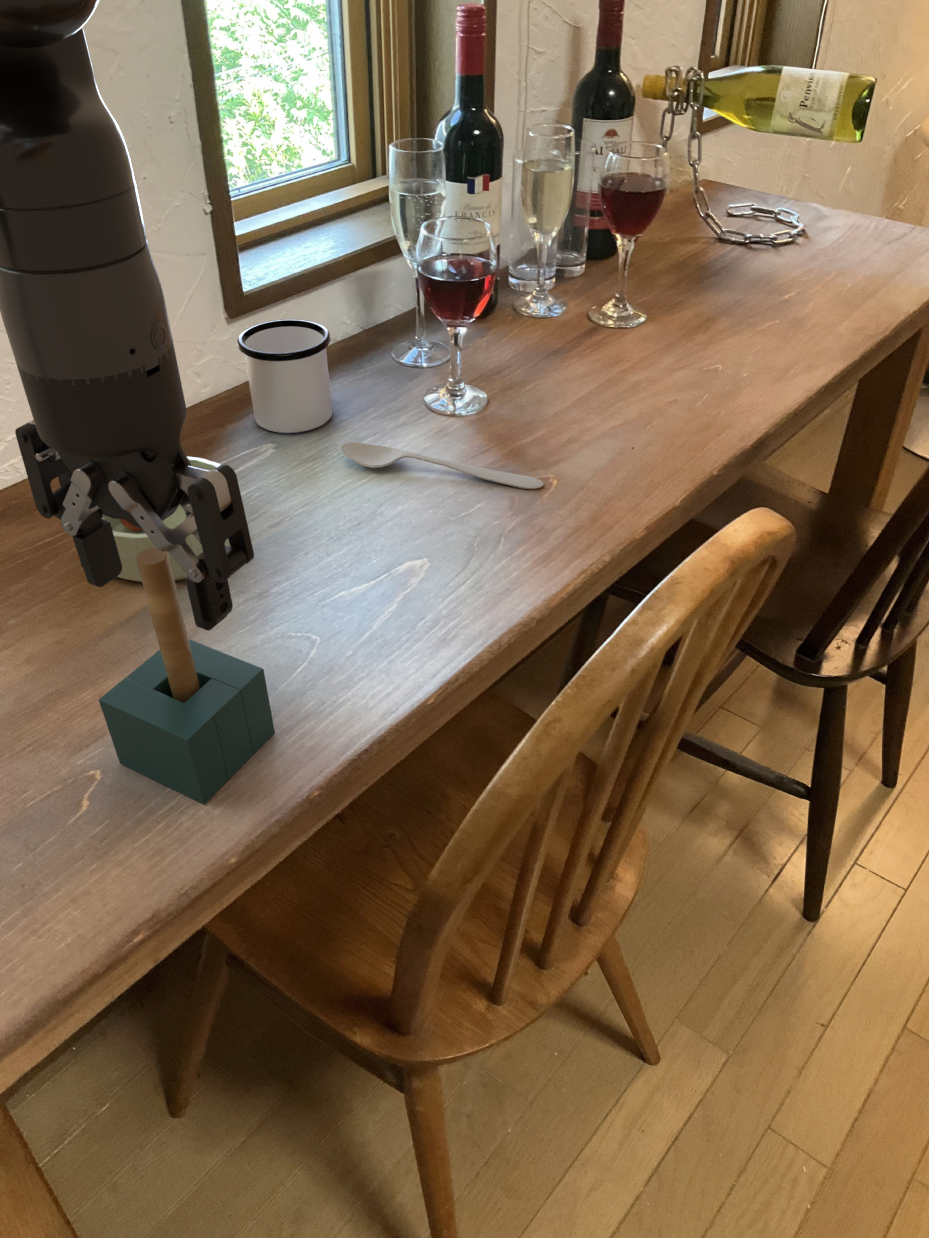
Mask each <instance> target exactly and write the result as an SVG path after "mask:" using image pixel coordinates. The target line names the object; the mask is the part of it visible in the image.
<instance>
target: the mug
mask: <svg viewBox="0 0 929 1238" xmlns="http://www.w3.org/2000/svg"><path fill="white" fill-rule="evenodd" d="M331 339H332V338H331V333H330V331H329V329H328V328H326V327H325V326H324V325H322V324H320V323H318V322H315V321H311V320H307V319H300V318H282V319H272V320H268V321H263V322H260V323H256V324H254V325H251V326H250V327H249V326H248V328H246V329H244V330H243V331H242V332H241V333H240V334H239V336H238V337H237V341H236V342H237V343H236V344H237V348H238V350H239V351H240V352H241V353H242V354H243V355H244V359H245V366H246V371H247V378H248V383H249V391H250V392H249V393H250V397H251V404H252V411H253V418H254V421H255V423H256V424H257V425H258V426H260V427H261V428H263V429H265V430H266V431H267V430H268V431H270V432H273V433H278V434H299V433H306V432H310V431H312V430H316V429H318V428H320V427H322V426H323V425H324V424H326V423H327V422H328V421H329V420H330V419H331V418H332V416H333V404H332V394H331V384H330V383H331V382H330V374H329V364H328V354H327V347H329V345H330V343H331Z"/></svg>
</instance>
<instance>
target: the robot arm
mask: <svg viewBox="0 0 929 1238" xmlns="http://www.w3.org/2000/svg"><path fill="white" fill-rule="evenodd" d="M99 2H100V0H0V316H1V318H2V322H3V326H4V328H5V331H6V335H7V339H8V341H9V345H10V348H11V351H12V354H13V357H14V361H15V364H16V367H17V370H18V373H19V376H20V380H21V383H22V387H23V390H24V393H25V396H26V400H27V403H28V406H29V409H30V412H31V417H32V418H33V419H32V420H31V421H28V422H27V423H24V424H23V425H20V426H19V427H17V428H16V429H15V431H14V433H15V438H16V441H17V444H18V448H19V451H20V455H21V458H22V462H23V466H24V470H25V472H26V477H27V479H28V483H29V486H30V490H31V494H32V497H33V498H32V499H33V500H34V505H35V507H36V511H38V513H39V514H40V515H41V516H42V517H43V518H44V519H48V520H49V519H51V518H53V517H55V518H57V519H58V520H59V521H60V522H59V523H60V526H61V528H62V529H63V531H64V533H66V534H67V535H69V536H71V537H72V541H73V543H74V546H75V549H76V552H77V556H78V558H79V562H80V566H81V567H82V569H83V571H84V574H85V577H86V581H87V583H88V584H90V585H93V586H95V587H98V588H103V587H104V586H106V585H107V584H109V583H110V582H112V581H113V580H114V579H116V578H118V577H117V576H118V575H119V574H120V573H121V571H122V564H121V560H120V556H119V553H118V549H117V545H116V542H115V538H114V535H113V531H112V527H111V524H110V522H109V521H106V520H104V519H101V518H103V517H104V516H108V517H111V518H113V519H124V520H126V521H127V522H129V523H131V524H132V525H134V526H136V527H139V528H141V529H143V530H144V532H145V533H146V534H147V536H148V537H149V538H150V540H151V541H152V542H153V544H154V545H155V546H156V548H157V549H158V550H160V551H167V552H169V553H171V555H172V556H173V557H174V559H175V560H176V561H177V563H178V564H179V565H180V567H181V568H182V569H183V571H184V572H185V573H186V575H187V576H188V577H187V578H185V579H184V580H185V584H186V589H187V594H188V598H189V602H190V606H191V610H192V611H191V612H192V615H193V620H194V625H195V626H196V627H197V628H199V629H202V630H205V631H208V632H209V631H212V630H213V628H215V627H216V626H217V625H218V624H220V623H221V622H222V621H224V620H225V619H226V618H227V617H228V615H229V614H230V613H232V610H233V606H234V605H233V601H232V600H233V599H232V595H231V589H230V583H229V579H230V578H231V577H232V575H234V574H235V573H236V572H238V571H239V570H241V568H243V567H244V566H245V565H247V564H249V563H250V562H251V561H253V559H254V558H255V553H254V548H253V543H252V538H251V535H250V530H249V526H248V520H247V516H246V512H245V508H244V502H243V498H242V494H241V493H242V492H241V490H240V484H239V480H238V477H237V474H236V471H235V470H234V469H233V468H232V467H231V466H230V465H228V464H226V463H222V464H221V465H220V466H219V467H217V468H216V469H214V470H212V471H208V470H204V469H200V468H196V467H192V466H191V463H190V461H189V460H188V458H187V456H188V455H186V453H185V451H184V448H183V447H182V443H181V436H182V431H183V427H184V424H185V421H186V419H187V418H186V416H187V404H186V400H185V394H184V390H183V384H182V380H181V379H182V378H181V375H180V369H179V364H178V360H177V355H176V348H175V345H174V339H173V335H172V331H171V324H170V320H169V315H168V310H167V305H166V300H165V295H164V290H163V287H162V283H161V279H160V277H159V273H158V271H157V268H156V265H155V263H154V260H153V257H152V254H151V249H150V247H149V242H148V239H147V238H148V237H147V236H148V235H147V232H146V227H145V222H144V221H145V220H144V218H143V217H144V216H143V213H142V207H141V202H140V197H139V192H138V188H137V187H138V186H137V183H136V178H135V175H134V174H135V173H134V170H133V166H132V161H131V157H130V154H129V151H128V147H127V144H126V141H125V138H124V136H123V133H122V131H121V129H120V126H119V124H118V123H117V121H116V119H115V118H114V117H113V114H111V112H110V110H109V109H108V107H107V105H106V104H105V102H104V100H103V98H102V96H101V94H100V91H99V88H98V85H97V82H96V78H95V74H94V68H93V65H92V59H91V56H90V52H89V48H88V44H87V39H86V35H85V31H84V28H83V27H84V25H85V24H87V23H88V21H89V20H90V18H91V17H92V15H93V14H94V12H95V10H96V8H97V7H98V4H99ZM55 479H58V483H59V487H58V488H57V489H55V490H52V486H51V485H52V484H51V483H52V481H53V480H55ZM179 504H180V505H181V507H182V508H183V509H184V511H185V513H186V518H185V520H184V521H183V522H182V523H180V524H179V525H178V526H176V527H175V528H173V529H172V528H168V527H167V526H166V525H165V524H164V523H163V522H162V521H163V520H165V519H166V518H168V517H169V516H171V515H172V514H173V513H174V512H175V511H176V509H177V507H178V506H179ZM190 534H193V535H194V536H195V537H196V538H197V540H198V541H199V542H200V544H201V545H202V549H203V552H202V553H200V554H199V555H198V556H196V554H195V553H194V552H193V550H192V549H191V548H190V546H189V545H188V544H187V541H186V538H187V536H189V535H190ZM227 539H229V543H230V546H226V545H225V541H226V540H227Z"/></svg>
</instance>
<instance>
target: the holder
mask: <svg viewBox="0 0 929 1238" xmlns="http://www.w3.org/2000/svg"><path fill="white" fill-rule="evenodd" d="M188 639H189V643H190V648H191V652H192V656H193V660H194V664H195V668H196V672H197V677H198V681H199V685H200V689H199V690H198V691H197V692H196V693H195V694H194V695H193V696H192V697H190V698H189V699H188V700H187V701H186V702H185V703H183V702H180V701H178V700H176V699H174V698H173V696H172V692H171V688H170V685H169V681H168V677H167V673H166V670H165V666H164V662H163V658H162V655H161V651H160V649H158V650H157V651H156V652H155V653H154V654H152V655H151V656H150V657H149V658H148V659H147V660H145V661H143V662H142V663H141V664H140V665H139V666H138V667H137V668H136V669H134V670H133V671H131V672H130V673H129V674H127V676H126V677H124V678H123V679H122V680H120V681H119V682H118V683H116V685H114V686H113V687H112V688H111V689H109V690H108V691H107V692H106V693H104V694H103V695H102V696H101V697H100V698H98V703H99V705H100V708H101V711H102V714H103V717H104V720H105V723H106V726H107V729H108V732H109V735H110V738H111V741H112V745H113V747H114V750H115V753H116V757H117V758H118V762H119V765H121V766H123V767H125V768H127V769H130V770H132V771H134V772H136V773H138V774H140V775H142V776H144V777H147V778H148V779H150V780H153V781H155V782H157V783H159V784H161V785H164V786H165V787H166V788H168V789H171V790H173V791H175V792H177V793H178V794H179V793H180V794H182V795H184V796H185V797H188V798H190V799H191V800H194V801H195V802H198V803H200V804H202V805H206V804H207V803H209V801H210V800H211V799H212V798H213V797H214V796H215V795H216V793H218V792H219V791H220V789H222V788H223V787H224V785H226V784H227V782H228V781H229V780H231V778H232V777H233V776H235V775H236V773H238V771H239V770H241V768H243V766H244V765H245V764H246V763H247V762H248V761H249V760H250V759H251V758H252V757H253V756H254V754H255V753H256V752H258V751H259V749H261V748H262V747H263V745H265V744H266V743H267V741H268V740H269V739H271V737H272V736H274V734H275V733H276V731H275V725H274V719H273V714H272V713H273V712H272V709H271V703H270V697H269V692H268V686H267V681H266V675H265V670H264V668H263V667H260V666H257V665H256V664H253V663H250V662H247V661H246V660H242V659H240V658H238V657H236V656H233V655H230V654H228V653H225V652H222V651H220V650H217V649H215V648H213V647H211V646H208V645H206V644H203V643H200V642H198V641H195V640H193V639H190V638H188Z"/></svg>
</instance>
